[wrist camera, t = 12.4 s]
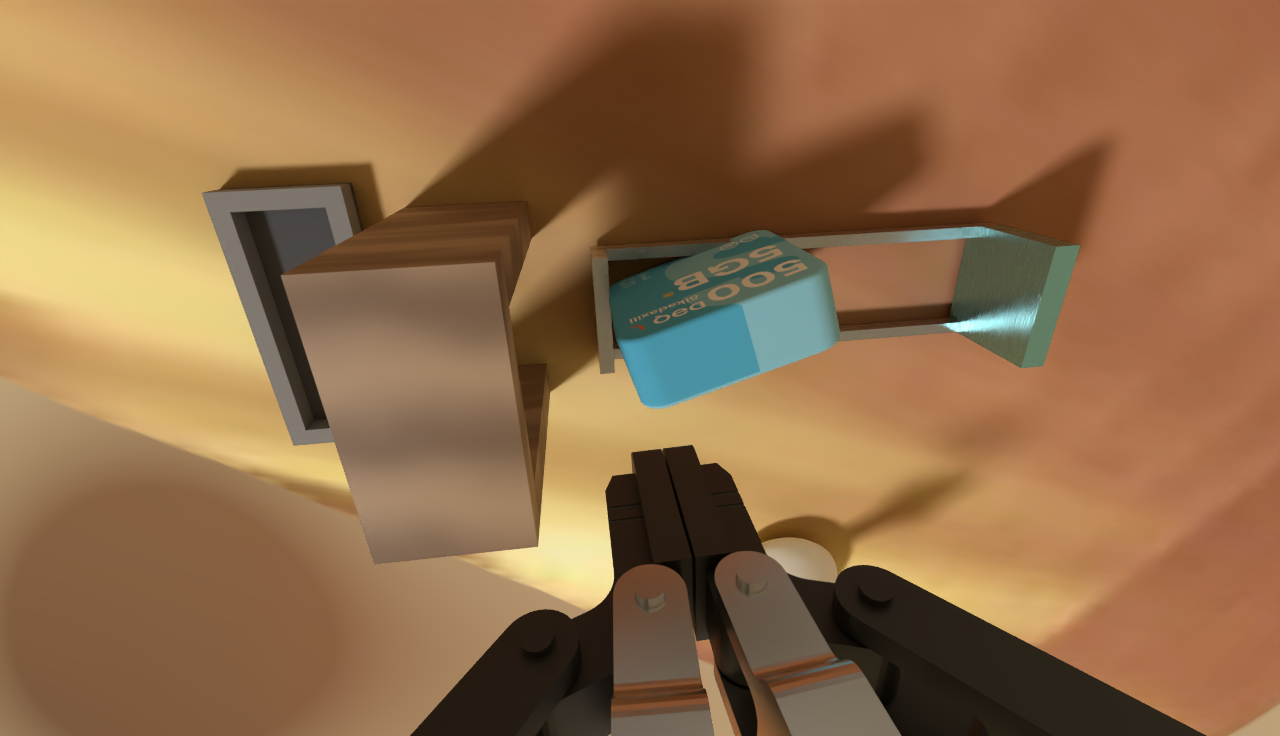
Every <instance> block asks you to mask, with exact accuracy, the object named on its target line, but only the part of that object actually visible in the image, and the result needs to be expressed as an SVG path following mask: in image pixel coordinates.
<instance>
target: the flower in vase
mask: <svg viewBox="0 0 1280 736" xmlns="http://www.w3.org/2000/svg"><path fill="white" fill-rule="evenodd" d="M762 545H763V547H764V550H765V552H766V554H767V555H768V556H770V557H771V558H773V559H775V560H776V561H777V562H778V563H779V564H780V565H781V566H782V567H783V568H784V570H785V571H786V572H787V573H789V574H791V575H794V576H796V577H800V578H804V579H809V580H816V581H824V582H832V583H835V582H836V578H837V577H838V576H837V567H836V563H835V561H834V559H833V557H832V555H831V554H830V553H829V552H828V551H827V550H826V549H825V548H824V547H822V546H820V545H819V544H817V543H814V542H811V541H809V540H806V539H802V538H794V537H785V538H777V539H772V540H769V541H765V542H763V543H762Z"/></svg>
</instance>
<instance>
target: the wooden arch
mask: <svg viewBox="0 0 1280 736" xmlns="http://www.w3.org/2000/svg"><path fill="white" fill-rule="evenodd" d="M530 241H531V230H530V222H529V213H528V205H527V201H520V202H501V203H482V204H463V205H444V206H425V207H406V208H403V209H401V210H400V211H398V212H396V213H394V214H392V215H390V216H389V217H387V218H385V219H383V220H381V221H379V222H378V223H376V224H374V225H372V226H370V227H368V228H367V229H365V230H363V231H361V232H359V233H357V234H356V235H354V236H352V237H350V238H348V239H346V240H345V241H343V242H341V243H339V244H337V245H335V246H334V247H332V248H330V249H328V250H326V251H324V252H323V253H321V254H319V255H317V256H315V257H313V258H312V259H310V260H308V261H306V262H304V263H303V264H301V265H299V266H297V267H295V268H293V269H292V270H290V271H288V272H286V273H284V274H282V275H281V278H282V281H283V284H284V287H285V290H286V294H287V297H288V300H289V303H290V306H291V309H292V312H293V315H294V318H295V321H296V324H297V327H298V330H299V334H300V337H301V340H302V343H303V346H304V349H305V352H306V355H307V358H308V361H309V364H310V367H311V371H312V374H313V377H314V380H315V383H316V386H317V389H318V392H319V395H320V398H321V401H322V404H323V407H324V411H325V414H326V417H327V420H328V423H329V426H330V429H331V432H332V435H333V438H334V441H335V444H336V448H337V451H338V454H339V457H340V460H341V463H342V466H343V469H344V472H345V475H346V478H347V481H348V484H349V488H350V491H351V494H352V497H353V500H354V503H355V506H356V509H357V512H358V515H359V518H360V521H361V525H362V527H363V531H364V534H365V537H366V540H367V543H368V546H369V549H370V552H371V555H372V558H373V561H374V564H382V563H391V562H400V561H410V560H418V559H428V558H437V557H446V556H456V555H465V554H474V553H484V552H493V551H502V550H511V549H520V548H530V547H538V539H539V527H540V514H541V501H542V488H543V476H544V463H545V450H546V438H547V425H548V412H549V399H550V388H549V380H548V371H547V364H538V365H526V366H518V365H517V358H516V352H515V345H514V338H513V331H512V324H511V317H510V310H509V305H510V302H511V299H512V296H513V293H514V290H515V287H516V284H517V281H518V278H519V275H520V272H521V269H522V266H523V263H524V260H525V257H526V254H527V251H528V248H529V244H530Z"/></svg>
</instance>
